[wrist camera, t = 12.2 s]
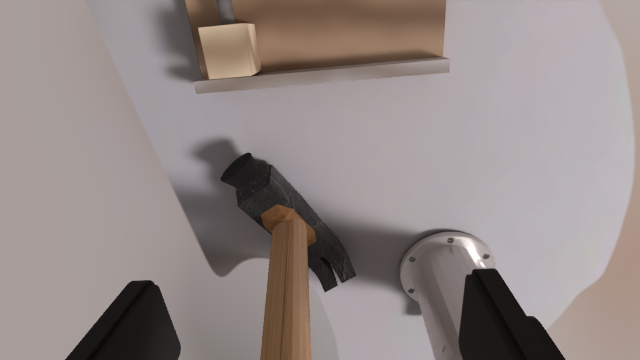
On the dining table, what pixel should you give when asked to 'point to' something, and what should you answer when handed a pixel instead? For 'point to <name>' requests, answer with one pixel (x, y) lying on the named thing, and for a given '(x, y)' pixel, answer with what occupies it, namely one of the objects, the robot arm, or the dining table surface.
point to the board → (329, 40)
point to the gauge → (230, 46)
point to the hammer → (287, 255)
